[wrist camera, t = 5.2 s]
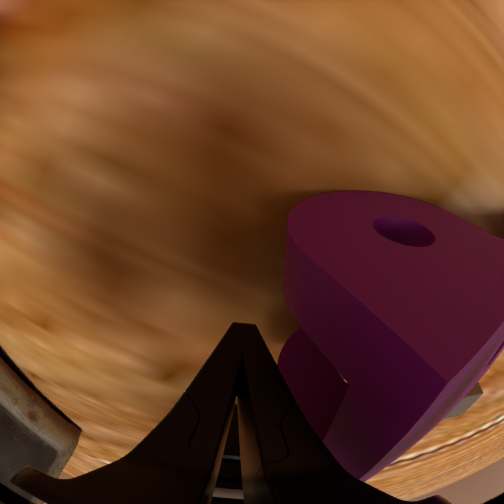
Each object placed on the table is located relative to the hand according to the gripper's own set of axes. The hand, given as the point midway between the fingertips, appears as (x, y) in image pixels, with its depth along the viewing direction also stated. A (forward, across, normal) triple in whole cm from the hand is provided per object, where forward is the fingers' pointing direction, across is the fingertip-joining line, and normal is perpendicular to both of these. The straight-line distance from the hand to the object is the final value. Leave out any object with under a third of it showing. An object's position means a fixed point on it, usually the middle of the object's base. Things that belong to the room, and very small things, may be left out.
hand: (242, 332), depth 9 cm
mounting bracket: (+5, -11, 0) cm, 12 cm away
